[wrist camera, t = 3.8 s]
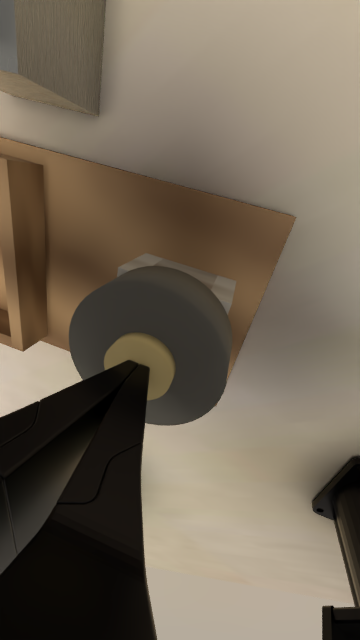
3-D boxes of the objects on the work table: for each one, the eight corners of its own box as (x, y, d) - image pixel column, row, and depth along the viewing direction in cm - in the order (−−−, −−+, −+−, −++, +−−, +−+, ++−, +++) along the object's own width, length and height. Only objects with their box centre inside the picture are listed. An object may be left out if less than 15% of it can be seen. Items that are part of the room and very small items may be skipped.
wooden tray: (218, 394, 18) (208, 447, 14) (-53, 294, 21) (-123, 316, 17) (292, 215, 12) (310, 223, 8) (-96, 111, 15) (-216, 81, 11)
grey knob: (216, 370, 16) (197, 458, 10) (121, 336, 16) (58, 402, 11) (255, 272, 12) (255, 325, 7) (135, 236, 13) (58, 261, 8)
